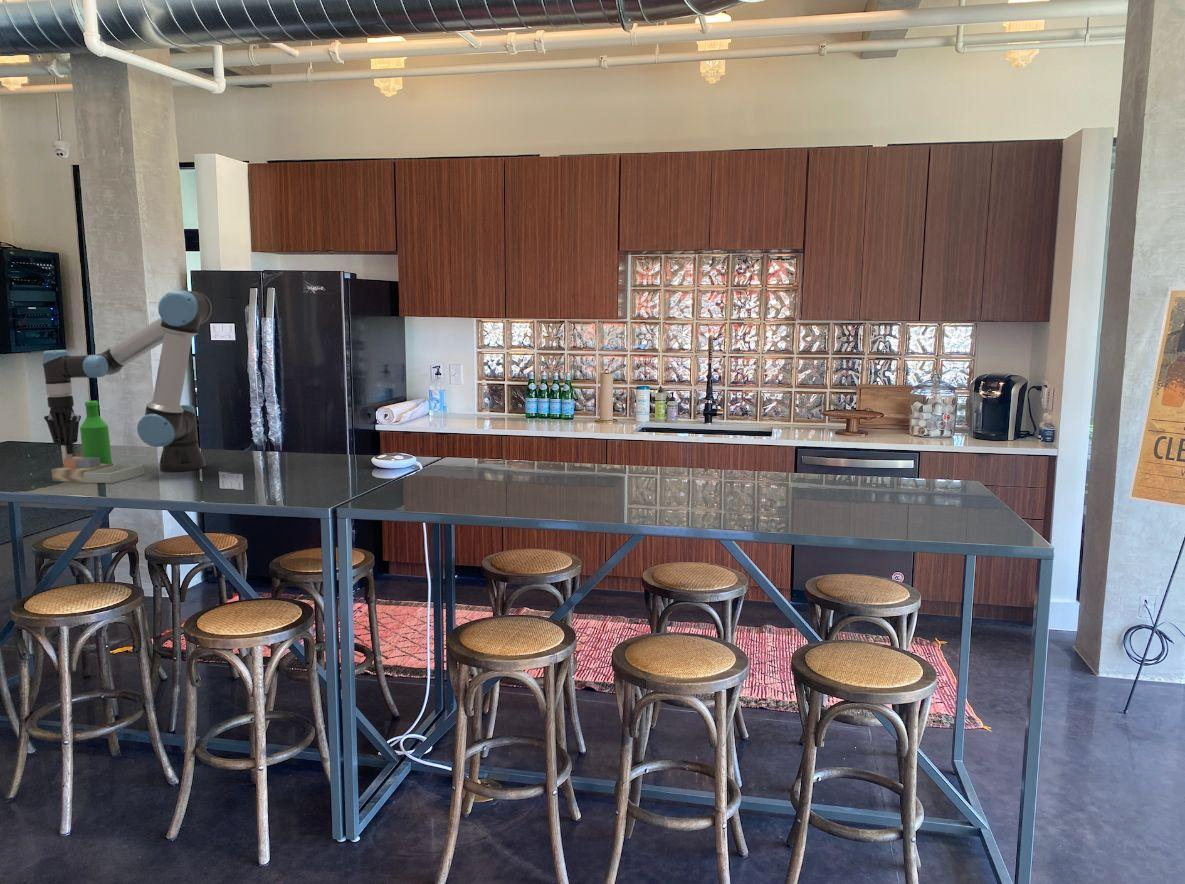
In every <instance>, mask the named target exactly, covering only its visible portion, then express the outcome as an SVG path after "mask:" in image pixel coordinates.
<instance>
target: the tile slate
mask: <svg viewBox="0 0 1185 884" xmlns="http://www.w3.org/2000/svg"><path fill="white" fill-rule="evenodd" d="M76 463H77V468H93V467H97V466H101V464H100V457H85V458H80V459H76Z"/></svg>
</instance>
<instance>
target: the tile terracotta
mask: <svg viewBox="0 0 1185 884" xmlns="http://www.w3.org/2000/svg"><path fill="white" fill-rule="evenodd" d="M80 458H85V457H83V456H72V457H71V458H66V459H62V462H63V461H64V464H63V467H64V468H77V463H76V459H80Z"/></svg>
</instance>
